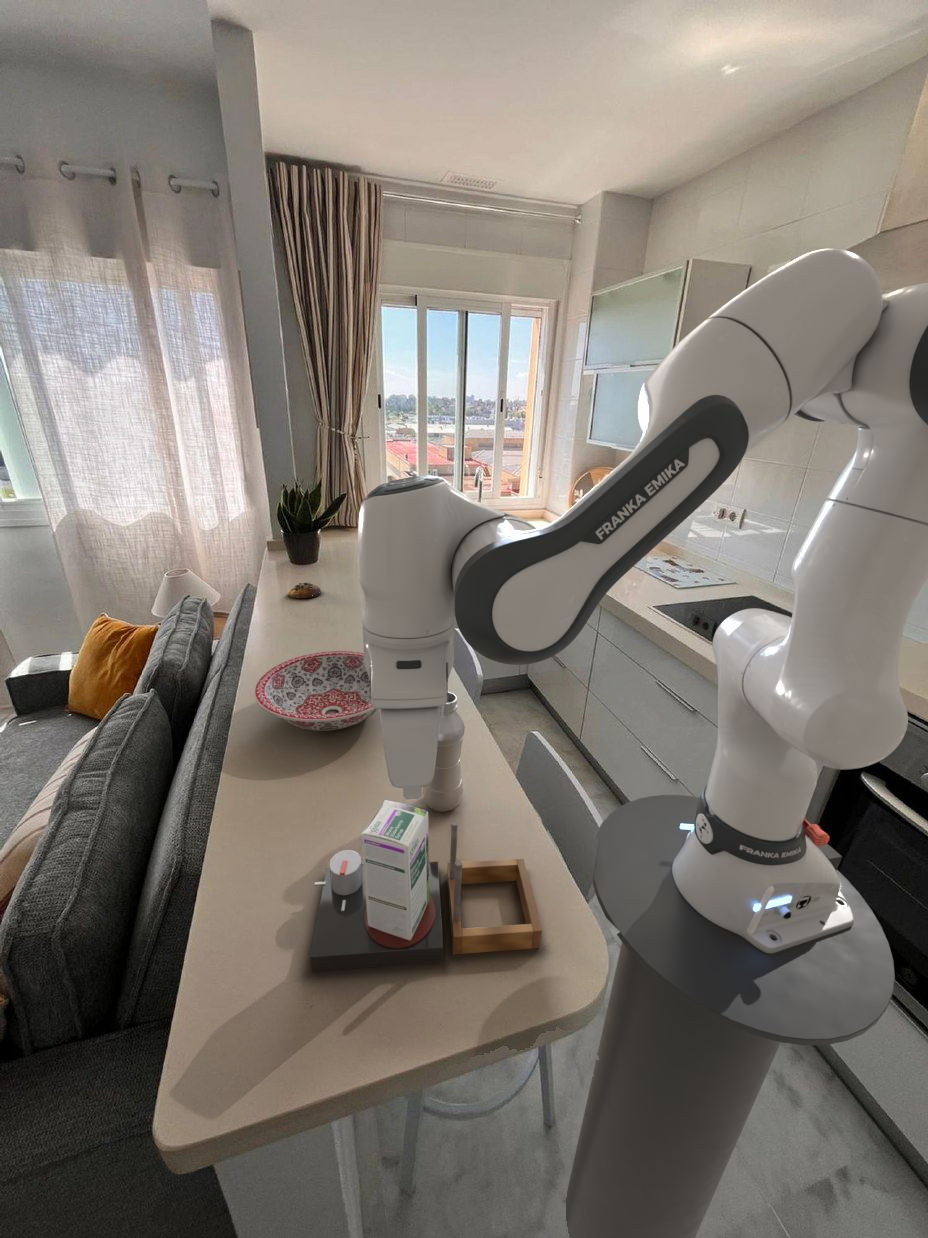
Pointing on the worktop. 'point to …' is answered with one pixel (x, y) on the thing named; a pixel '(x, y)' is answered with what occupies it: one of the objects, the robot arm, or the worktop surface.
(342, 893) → the hob knob
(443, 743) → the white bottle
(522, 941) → the brown wooden holder
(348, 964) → the hob
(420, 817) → the syrup box
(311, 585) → the bread roll
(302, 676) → the ceramic bowl
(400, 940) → the hotplate
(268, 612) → the worktop surface
